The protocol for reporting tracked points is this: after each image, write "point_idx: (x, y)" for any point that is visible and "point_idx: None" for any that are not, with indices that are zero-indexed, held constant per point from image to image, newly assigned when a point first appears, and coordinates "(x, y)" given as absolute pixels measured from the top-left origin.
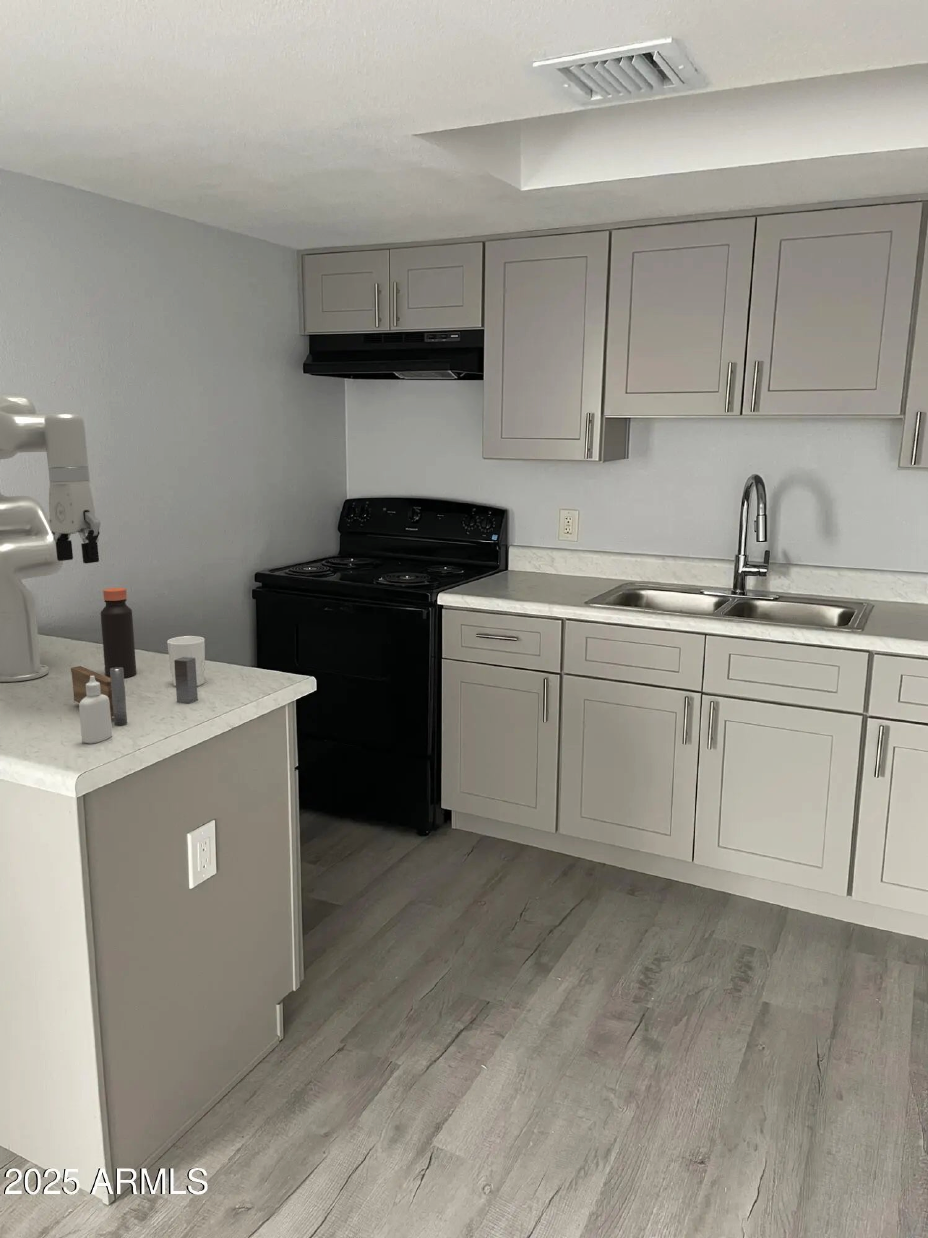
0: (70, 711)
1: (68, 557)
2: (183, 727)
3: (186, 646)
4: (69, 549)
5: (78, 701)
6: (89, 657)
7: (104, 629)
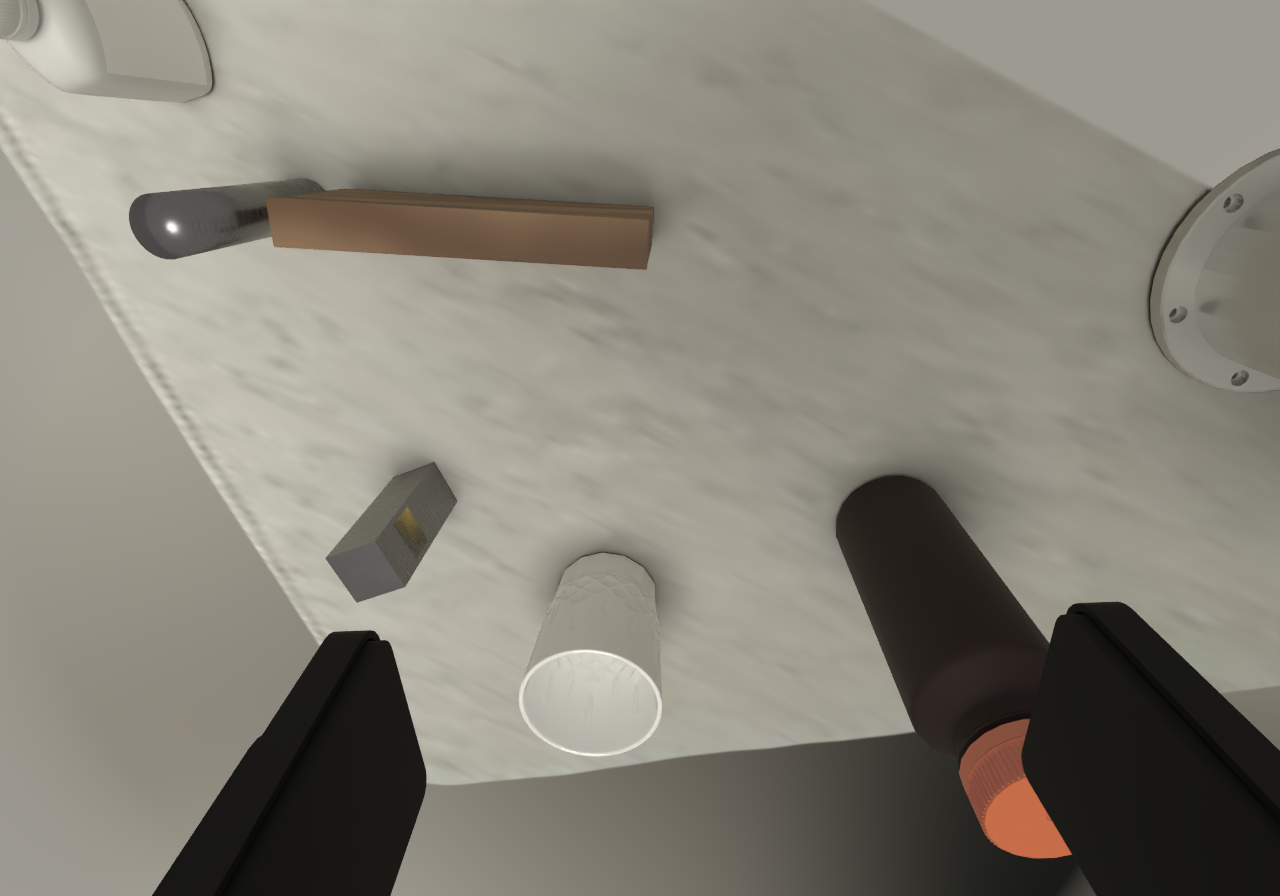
0: (591, 153)
1: (1045, 738)
2: (152, 327)
3: (528, 667)
4: (1119, 878)
5: (612, 205)
6: (1222, 578)
7: (966, 589)
